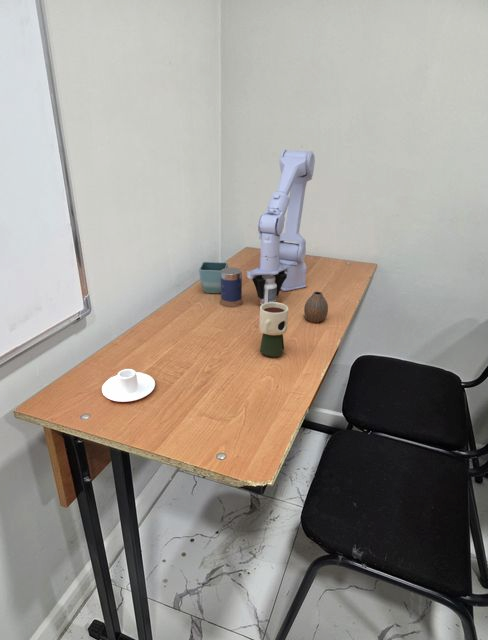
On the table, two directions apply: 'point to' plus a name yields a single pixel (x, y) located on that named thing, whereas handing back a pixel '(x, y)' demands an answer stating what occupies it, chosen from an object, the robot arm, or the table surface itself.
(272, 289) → the pill bottle
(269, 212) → the robot arm
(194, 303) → the table surface
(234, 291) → the tin can
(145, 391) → the candle holder
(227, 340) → the table surface
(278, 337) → the character mug
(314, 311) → the vase
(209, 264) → the flower pot
